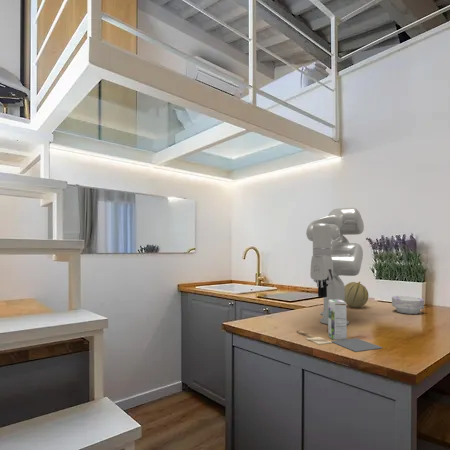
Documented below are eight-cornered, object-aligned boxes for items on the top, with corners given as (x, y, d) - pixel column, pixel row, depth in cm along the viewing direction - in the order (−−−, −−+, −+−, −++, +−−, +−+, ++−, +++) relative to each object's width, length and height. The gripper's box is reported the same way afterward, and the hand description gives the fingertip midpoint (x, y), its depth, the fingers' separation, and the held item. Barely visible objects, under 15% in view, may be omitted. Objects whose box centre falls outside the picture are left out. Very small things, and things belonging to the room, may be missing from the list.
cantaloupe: (337, 305, 206) (337, 280, 207) (360, 304, 208) (360, 280, 209) (348, 310, 191) (348, 283, 192) (373, 309, 193) (373, 282, 194)
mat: (330, 341, 129) (330, 341, 129) (356, 338, 133) (356, 338, 133) (355, 352, 117) (355, 351, 117) (382, 348, 121) (382, 347, 121)
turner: (292, 333, 142) (292, 331, 142) (304, 331, 144) (304, 329, 144) (318, 344, 125) (318, 342, 125) (332, 343, 127) (332, 341, 127)
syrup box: (327, 336, 137) (327, 299, 138) (342, 336, 137) (342, 299, 138) (332, 340, 131) (331, 301, 132) (347, 340, 131) (346, 301, 132)
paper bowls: (430, 315, 177) (429, 299, 178) (400, 315, 177) (400, 299, 178) (414, 309, 192) (414, 295, 193) (387, 309, 193) (386, 295, 193)
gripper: (304, 252, 150) (304, 295, 148) (325, 252, 136) (326, 299, 135) (318, 252, 152) (319, 294, 151) (341, 253, 139) (341, 299, 137)
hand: (322, 296), depth 143 cm, fingers closed
